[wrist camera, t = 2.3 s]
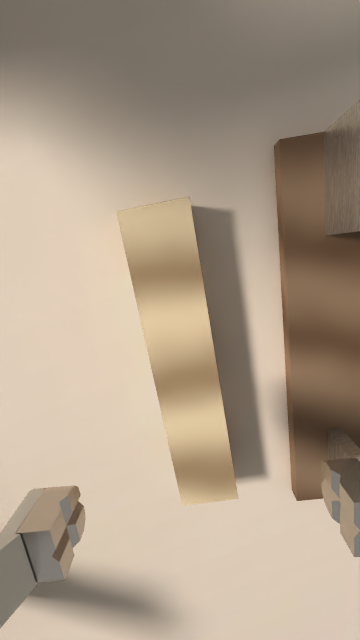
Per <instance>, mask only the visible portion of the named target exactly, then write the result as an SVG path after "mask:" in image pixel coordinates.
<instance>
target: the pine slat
mask: <svg viewBox="0 0 360 640" xmlns="http://www.w3.org/2000/svg"><path fill="white" fill-rule="evenodd" d="M116 213H117V217H118V221H119V226H120V230H121V235H122V239H123V244H124V248H125V253H126V257H127V261H128V266H129V270H130V275H131V279H132V284H133V288H134V293H135V297H136V301H137V306H138V310H139V315H140V319H141V324H142V328H143V333H144V337H145V341H146V346H147V350H148V355H149V359H150V364H151V368H152V373H153V377H154V381H155V386H156V390H157V395H158V399H159V404H160V408H161V412H162V417H163V421H164V426H165V430H166V435H167V439H168V444H169V448H170V452H171V457H172V461H173V466H174V470H175V475H176V479H177V484H178V488H179V492H180V497H181V501H182V506H184V505H192V504H200V503H208V502H216V501H223V500H231V499H238V493H237V487H236V481H235V475H234V469H233V463H232V456H231V450H230V444H229V438H228V432H227V426H226V419H225V413H224V407H223V401H222V395H221V389H220V382H219V376H218V370H217V364H216V358H215V352H214V346H213V339H212V333H211V327H210V321H209V315H208V309H207V302H206V296H205V290H204V284H203V278H202V272H201V265H200V259H199V253H198V247H197V241H196V235H195V229H194V222H193V216H192V210H191V204H190V198H189V197H186V198H181V199H176V200H171V201H166V202H161V203H156V204H151V205H146V206H142V207H137V208H132V209H127V210H122V211H117V212H116Z"/></svg>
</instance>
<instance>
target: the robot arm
mask: <svg viewBox="0 0 360 640" xmlns="http://www.w3.org/2000/svg"><path fill="white" fill-rule="evenodd" d="M321 473H322V474H323V476H324V477H325V479H324V480H323V482H322V483H321V486H322V494H323V498H324V502H325V505H326V507H327V509H328V511H329V513H330V515H331V517H332V518H333V519H334V520H335V521H337V522H338V523H340V531H341V535H342V536H343V538H344V540H345V542H346V543H347V545H348V547H349V549H350V550H351V552H352V554H353V556H354V557H360V457H354V458H344V459H335V460H326V461H322V462H321ZM79 497H80V492H79V488H78V487H77V486H63V487H49V488H40V489H33V490H31V491H30V492H29V493H28V494H27V496H26V497H25V498H24V500H23V501H22V503H21V504H20V506H19V507H18V508H17V510H16V511H15V513H14V514H13V516H12V517H11V519H10V520H9V521H8V523H7V524H6V526H5V527H4V529H3V530H2V531H1V533H0V628H1V627H2V626H3V625H4V623H5V622H6V621H7V620H8V619H9V617H10V616H11V615H12V614H13V613H14V611H15V610H16V609H17V608H18V607H19V606H20V604H21V603H22V602H23V601H24V600H25V598H26V597H27V596H28V595H29V594H30V593H31V591H32V590H33V589H34V588H35V587H36V585H37V584H36V583H42V582H50V581H59V580H65V578H66V575H67V573H68V570H69V568H70V565H71V563H72V560H73V557H74V552H73V547H74V546H75V545H76V544H77V543H78V542H79V541H80V539H81V537H82V534H83V531H84V525H85V510H84V506H83V505H82V504H81V503H80V502H78V499H79Z"/></svg>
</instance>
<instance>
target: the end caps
mask: <svg viewBox="0 0 360 640" xmlns="http://www.w3.org/2000/svg"><path fill="white" fill-rule="evenodd" d="M324 175H325V236H326V235H334V234H341V233H349V232H357V231H360V101H359V102H357V103H356V104H355V105H354V106H353V107H352V108H351V109H350V110H348V111H347V112H346V113H345V114H344V115H343V116H342V117H340V118H339V119H338V120H337V121H336V122H335V123H334V124H332V125H331V126H330V127H329V128H328V129H327V130H326V131H325V132H324ZM354 457H360V449H359V448H358V446H357V445H356V444H355V443H354V442H353V441H352V440H351V439H350V437H349V436H348V435H347V434H346V433H345V432H344V431H343V430H342V429H338V430H328V460H335V459H344V458H354Z"/></svg>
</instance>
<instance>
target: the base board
mask: <svg viewBox="0 0 360 640" xmlns="http://www.w3.org/2000/svg"><path fill="white" fill-rule="evenodd" d="M274 154H275V173H276V193H277V212H278V231H279V250H280V269H281V288H282V308H283V327H284V346H285V365H286V384H287V403H288V422H289V442H290V461H291V480H292V491H293V493H294V495H295V498H296V500H297V501H301V500H312V499H322V498H323V494H322V486H321V483H322V482H323V480H324V479H325V477H324V476H323V474H322V473H321V462H322V461H326V460H328V430H338V429H342V430H343V431H344V432H345V433H346V434H347V435H348V436H349V437H350V439H351V440H352V441H353V442H354V443H355V444H356V445H357V446H358V448H359V449H360V231H357V232H349V233H341V234H334V235H326V236H325V175H324V132H321V133H315V134H309V135H303V136H297V137H291V138H285V139H280V140H279V141H278V142H277V143H276V145H275V146H274Z"/></svg>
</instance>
